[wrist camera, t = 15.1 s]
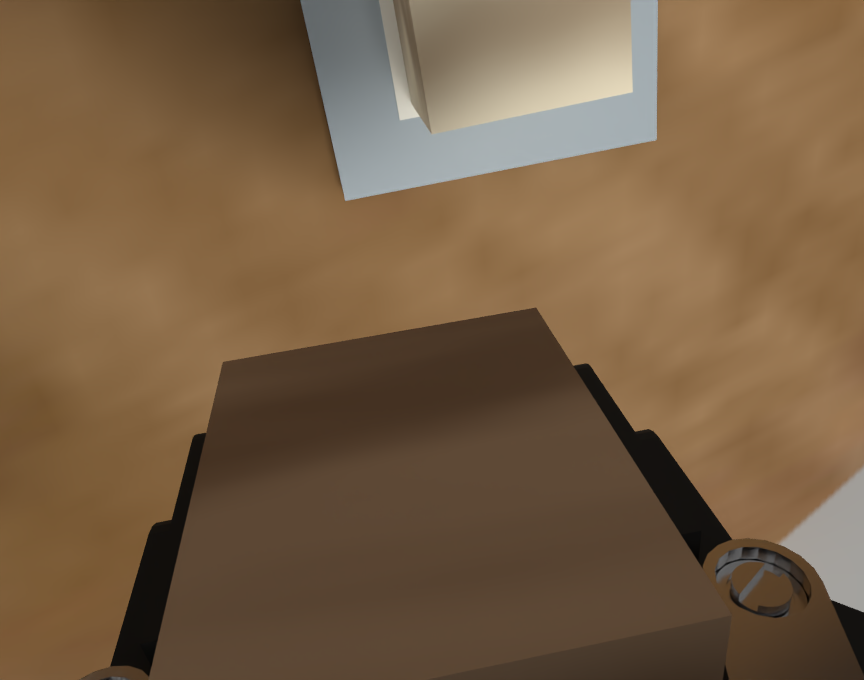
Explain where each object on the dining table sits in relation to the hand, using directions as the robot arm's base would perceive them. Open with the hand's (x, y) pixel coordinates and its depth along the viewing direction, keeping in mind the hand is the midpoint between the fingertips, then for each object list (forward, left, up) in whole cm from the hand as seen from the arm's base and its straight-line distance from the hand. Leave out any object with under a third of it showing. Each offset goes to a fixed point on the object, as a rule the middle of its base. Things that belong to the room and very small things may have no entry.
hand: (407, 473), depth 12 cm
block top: (0, 0, -1) cm, 1 cm away
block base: (-6, +5, -16) cm, 18 cm away
